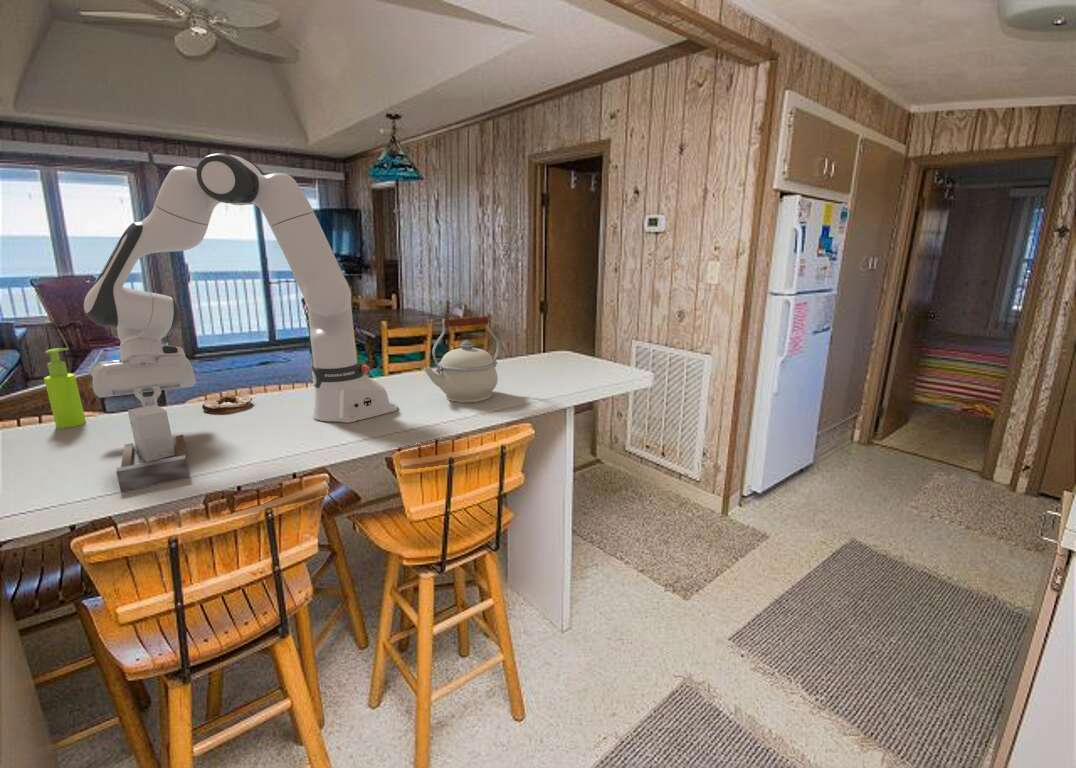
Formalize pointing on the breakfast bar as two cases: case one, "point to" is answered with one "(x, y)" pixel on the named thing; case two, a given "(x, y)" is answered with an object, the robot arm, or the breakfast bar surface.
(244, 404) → the brown speckled ring
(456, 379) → the kettle
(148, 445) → the small box
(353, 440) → the breakfast bar surface
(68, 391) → the soap dispenser
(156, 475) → the guide channel
